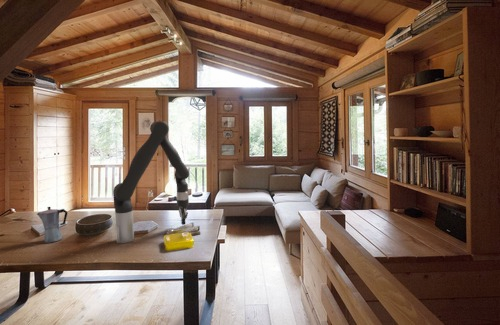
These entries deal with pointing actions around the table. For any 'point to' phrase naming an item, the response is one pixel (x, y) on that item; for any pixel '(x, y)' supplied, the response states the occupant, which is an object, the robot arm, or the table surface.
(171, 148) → the robot arm
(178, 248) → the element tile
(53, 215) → the moka pot
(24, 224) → the table surface
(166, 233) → the tong board
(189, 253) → the table surface
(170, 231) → the tong fixed arm
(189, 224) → the tong swing arm
